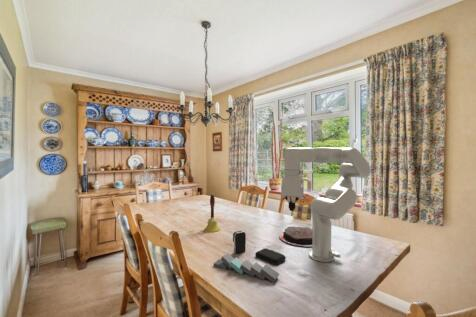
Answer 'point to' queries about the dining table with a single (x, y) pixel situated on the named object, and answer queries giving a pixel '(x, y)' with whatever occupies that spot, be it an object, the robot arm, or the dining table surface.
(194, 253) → the dining table surface
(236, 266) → the domino
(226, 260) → the domino
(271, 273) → the domino
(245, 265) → the domino
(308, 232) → the chocolate cake
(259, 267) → the domino
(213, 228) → the handbell
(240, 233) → the battery charger
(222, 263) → the domino
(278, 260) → the carrying case or bag
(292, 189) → the robot arm
